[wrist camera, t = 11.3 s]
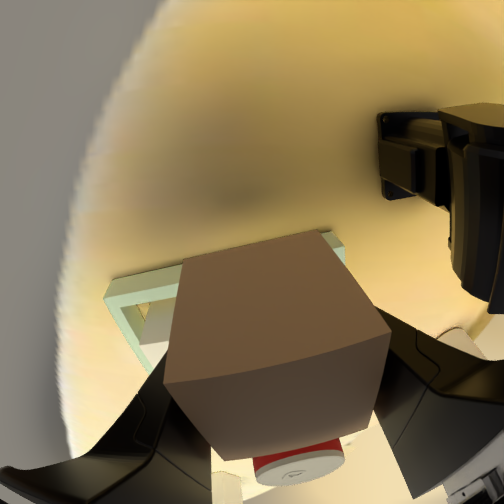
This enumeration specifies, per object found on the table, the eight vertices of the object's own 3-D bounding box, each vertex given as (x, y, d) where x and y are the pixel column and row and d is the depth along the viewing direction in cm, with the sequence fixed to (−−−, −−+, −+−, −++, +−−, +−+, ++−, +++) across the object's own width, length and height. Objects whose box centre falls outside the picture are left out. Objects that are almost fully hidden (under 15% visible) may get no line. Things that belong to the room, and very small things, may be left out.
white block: (204, 289, 22) (202, 335, 17) (219, 331, 24) (221, 376, 19) (150, 301, 22) (138, 345, 17) (170, 340, 24) (164, 384, 19)
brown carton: (317, 229, 9) (391, 331, 5) (324, 327, 11) (367, 428, 7) (183, 259, 9) (163, 384, 5) (218, 351, 11) (224, 461, 7)
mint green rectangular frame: (331, 231, 20) (344, 246, 18) (333, 395, 31) (339, 411, 29) (112, 279, 20) (102, 298, 18) (198, 422, 31) (198, 438, 28)
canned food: (239, 401, 29) (249, 489, 19) (249, 356, 26) (265, 463, 16) (303, 399, 30) (325, 479, 21) (325, 355, 27) (360, 449, 17)
